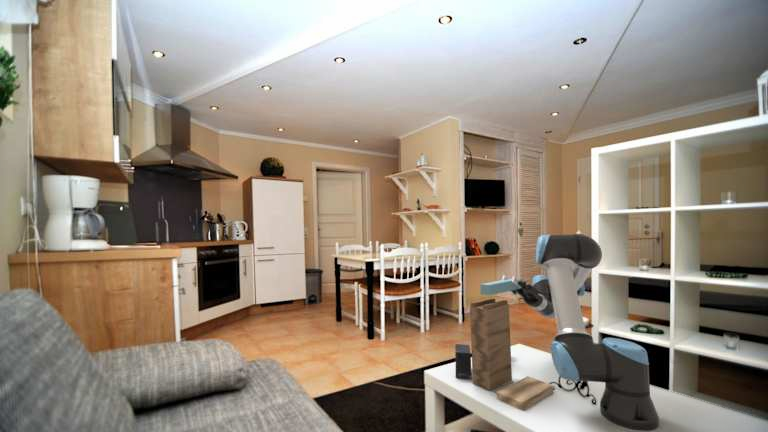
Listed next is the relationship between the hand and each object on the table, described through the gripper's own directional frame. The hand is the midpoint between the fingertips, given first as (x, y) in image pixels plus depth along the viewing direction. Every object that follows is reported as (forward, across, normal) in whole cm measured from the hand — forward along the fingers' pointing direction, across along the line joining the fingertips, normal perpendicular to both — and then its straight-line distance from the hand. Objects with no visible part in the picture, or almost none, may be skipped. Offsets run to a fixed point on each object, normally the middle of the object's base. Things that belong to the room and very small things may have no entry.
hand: (508, 278), depth 145 cm
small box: (-6, +12, -42) cm, 44 cm away
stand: (-7, -1, -41) cm, 42 cm away
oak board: (-7, -15, -41) cm, 44 cm away
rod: (+1, 0, -6) cm, 6 cm away
